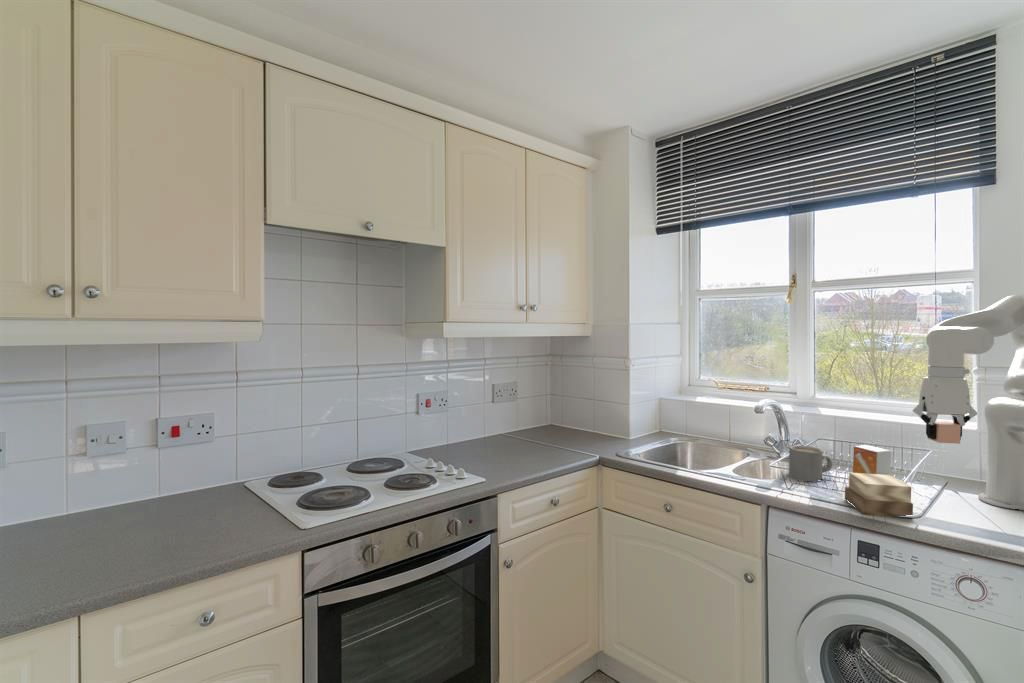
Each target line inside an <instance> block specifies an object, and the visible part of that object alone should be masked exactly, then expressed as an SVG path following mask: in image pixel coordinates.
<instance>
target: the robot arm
mask: <svg viewBox="0 0 1024 683" xmlns="http://www.w3.org/2000/svg"><path fill="white" fill-rule="evenodd" d="M1007 334H1010V336H1011V338H1012V342H1013V344H1014V347H1015V348H1014V349H1015V352H1014V356H1013V359H1012V362H1011V364H1010V367H1009V368H1008V371H1007V373H1006V376H1005V379H1004V381H1003V390H1004V391H1005V393H1006V394H1007V395H1009V396H1012V397H1009V396H999V397H994V398H991V399H989V400H988V401H987V402H986V404H985V406H984V418H985V422H986V429H987V451H986V452H987V456H986V478H985V480H986V481H985V482H986V483H985V492H981V493H979V494H978V499H979V500H980V501H982V502H984V503H986V504H989V505H992V506H996V507H1000V508H1004V509H1009V508H1010V509H1011V510H1015V509H1019V510H1018V511H1024V293H1021V294H1020V293H1018V294H1012V295H1009V296H1006V297H1004V298H1002V299H1001V300H999V301H997V302H995V303H993V304H992V305H990V306H988V307H987V308H985V309H982V310H978V311H974V312H971V313H967V314H962V315H958V316H955V317H950V318H949V319H946V320H943V321H941V322H939V323H938V324H936V325H935V326H933V327H932V328H931V329H930V330H929V331H928V333H927V334H926V338H925V341H926V342H925V343H926V346H927V347H928V355H927V356H928V357H927V358H928V359H927V360H928V363H927V376H924V377H923V380H922V383H921V386H920V391H919V399H918V401H919V402H918V404H917V406H915V407H914V408H913V409H912V413H914V414H915V415H917V416H918V417H919V418H920V419H921V420H922V421H923V423H925V435H926V437H927V439H928V438H931V439H933V440H936V431H937V426H936V425H935V421H937V418H938V415H940V416H941V415H942V416H946V415H947V416H951V419H952V423H955V424H958V425H961V431H960V441H961V439H962V437H963V427H964V426H965V425H966V423H968V422H969V421H970V420H971V419H973V418H974V417H976V416H978V412H977V411H976V409H974V407H973V406H972V405H971V396H970V389H969V383H968V380H967V379H966V378H965V377H966V376H965V375H969V374H970V369H968V368H965V358H966V356H965V355H982V354H986V353H987V352H989V351H990V350H991V349H992V348H993V347H994V344H995V338H998V337H1003V336H1005V335H1007ZM924 412H926V414H925V413H924ZM933 440H932V441H933ZM1010 509H1009V510H1010Z"/></svg>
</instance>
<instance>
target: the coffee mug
mask: <svg viewBox="0 0 1024 683" xmlns="http://www.w3.org/2000/svg"><path fill="white" fill-rule="evenodd" d="M788 452H789V454H788V458H789V459H788V476H789V477H790V478H792V479H794V480H797V481H801V482H807V481H818V480H821V479H822V480H823V473H824V474H825V473H827V472H829V471H831V469H832V468H833V459H832V457H831V456H830V455H828V454H825V453H824V452H823V449H821V448H818V447H815V446H809V445H800V444H799V445H798V444H797V445H795V444H794V445H790V446H789V450H788ZM824 459H826V461H827V464H826V466H823V460H824Z"/></svg>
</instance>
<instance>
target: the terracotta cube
mask: <svg viewBox="0 0 1024 683" xmlns="http://www.w3.org/2000/svg"><path fill="white" fill-rule="evenodd" d="M935 425H936V426H937V431H936V440H933V439H931V438H928V437H927V439H928V440H931V441H933V442H935V443H938V444H939V443H940V444H958V445H959V444H961V440H960V431H961V425H958V424H955V423H953V421H952V422H951V421H947V420H946V421H943V420H941V421H939V420H936V421H935Z"/></svg>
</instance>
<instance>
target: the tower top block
mask: <svg viewBox="0 0 1024 683" xmlns="http://www.w3.org/2000/svg"><path fill="white" fill-rule="evenodd" d="M848 487H849V488H851V489H852V490H853V491H855V492H856V493H857V494H859V495H860V496H861V497H863V498H864V499H865V500H876V501H890V502H903V503H912V486H911V485H909V484H907V483H905V482H904V481H903V480H901V479H898V478H897V477H895V476H893V475H891V474H890V475H881V474H865V473H853V472H849V474H848Z"/></svg>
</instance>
